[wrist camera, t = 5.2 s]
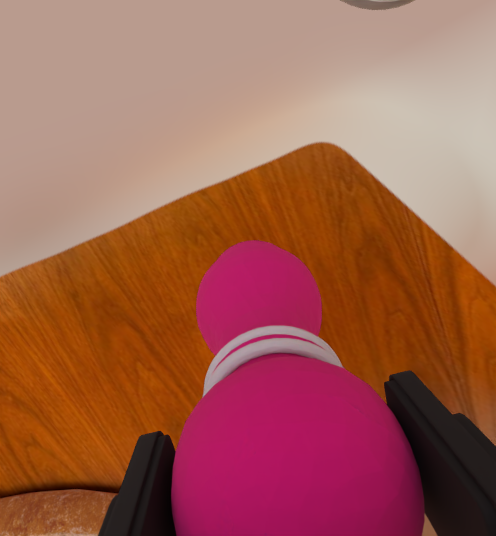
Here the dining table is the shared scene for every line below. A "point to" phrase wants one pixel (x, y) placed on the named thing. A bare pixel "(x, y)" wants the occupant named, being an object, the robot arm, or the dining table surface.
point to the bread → (54, 513)
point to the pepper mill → (285, 418)
